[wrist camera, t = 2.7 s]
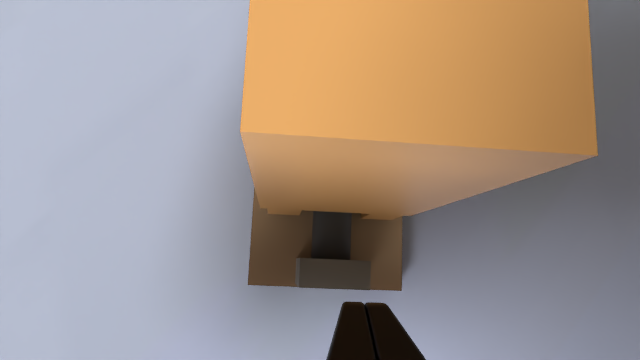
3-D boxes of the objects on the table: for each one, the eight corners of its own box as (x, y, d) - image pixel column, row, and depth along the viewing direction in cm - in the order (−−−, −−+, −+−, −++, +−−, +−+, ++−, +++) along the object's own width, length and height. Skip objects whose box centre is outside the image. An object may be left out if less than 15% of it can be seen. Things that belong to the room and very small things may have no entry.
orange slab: (397, 220, 15) (598, 155, 6) (261, 213, 15) (239, 131, 5) (398, 146, 16) (585, -27, 6) (266, 137, 15) (254, -62, 6)
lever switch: (393, 288, 16) (440, 299, 12) (249, 283, 16) (239, 292, 11) (398, -23, 18) (438, -116, 14) (270, -36, 18) (270, -136, 13)
